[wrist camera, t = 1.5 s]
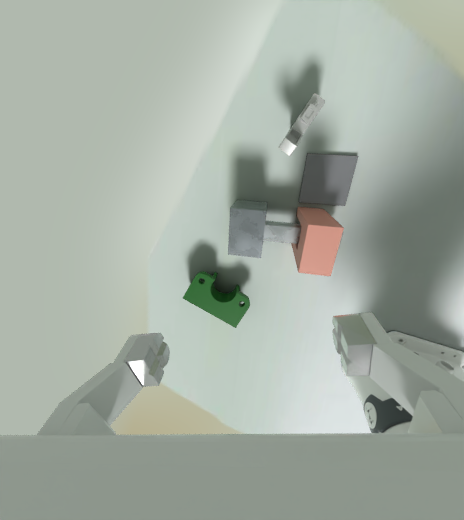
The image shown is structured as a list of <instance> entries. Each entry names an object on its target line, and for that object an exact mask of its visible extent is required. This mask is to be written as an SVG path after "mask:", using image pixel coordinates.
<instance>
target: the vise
mask: <svg viewBox="0 0 464 520" xmlns="http://www.w3.org/2000/svg"><path fill="white" fill-rule="evenodd" d="M266 212H267V202H258V201H246V200H237V201H236V202H235V203H234V204H233V205H232V207H231V208H230V225H229V245H228V254H230V255H239V256H248V257H257V258H261V253H262V245H263V240H266V241H276V242H285V243H295V244H299V239H300V234H301V228H302V226H301V224H296V223H285V222H274V221H265V220H266ZM342 235H343V233H342ZM341 239H342V236H341ZM340 242H341V240H340ZM339 246H340V244H339ZM338 248H339V247H338Z"/></svg>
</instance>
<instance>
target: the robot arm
mask: <svg viewBox="0 0 464 520" xmlns="http://www.w3.org/2000/svg"><path fill="white" fill-rule="evenodd" d="M333 325H334V327H335V328H334V329H333V339H334V344H335V347H336V350H337V352H338V353H339V354H340V355H341V363H342V370H343V373H344V375H345V377H346V378H347V379H348V381H349V382H350V384H351V385H352V387H353V388H354V390H355V392H356V394H357V395H358V397H359V399H360V401H361V403H362V405H363V407H364V412H365V416H366V419H367V422H368V424H369V427H370V430H371V432H372V433H345V434H176V435H175V434H170V435H116V433H115V431H114V430H113V429H112V428H111V427H110V425H111V424H112V422H113V421H114V420H115V419H116V418H117V417H118V416H119V414H120V413H121V412H122V411H123V410H124V409H125V408H126V406H127V405H128V404H129V403H130V402H131V401H132V400H133V398H134V397H135V396H136V395H137V394H138V393H139V391H140V390H141V389H142V388H143V387H146V386H158V385H159V384H160V381H161V379H162V376H163V374H164V371H163V367H164V366H165V365H166V364H167V363H168V360H169V354H170V351H169V347H168V345H167V344H166V343H165V342H163V339H164V337H163V335H162V334H161V333H150V334H139V335H132V336H130V337H129V338H128V340H127V341H126V343H125V345H124V346H123V348H122V350H121V351H120V353H119V354H118V356H117V358H116V359H115V361H114V363H110V364H109V365H108V366H106V367H105V368H104V369H102V370H101V371H100V372H99V373H97V374H96V375H95V376H93V377H92V378H91V379H90V380H89V381H87V382H86V383H85V384H83V385H82V386H81V387H79V388H78V389H77V390H76V391H74V392H73V393H72V394H71V395H69V396H68V397H67V398H66V399H64V400H63V401H62V402H60V403H59V405H58V407H57V408H56V409H55V410H54V412H53V413H52V415H51V416H50V417H49V419H48V420H47V421H46V423H45V424H44V425H43V427H42V428H41V430H40V431H39V433H38V434H37V435H3V436H2V435H0V520H464V352H463V351H459V350H456V349H453V348H449V347H446V346H443V345H440V344H436V343H433V342H430V341H426V340H423V339H420V338H416V337H413V336H410V335H406V334H403V333H400V332H396V331H391V332H389V333H386V332H385V330H384V329H383V327H382V326H381V324H380V323H379V321H378V320H377V318H376V317H375V315H374V314H373V313H371V312H367V313H358V314H349V315H339V316H333ZM399 339H400V340H399Z"/></svg>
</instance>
